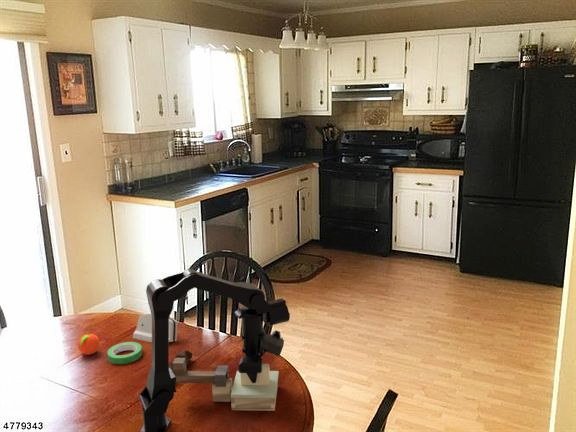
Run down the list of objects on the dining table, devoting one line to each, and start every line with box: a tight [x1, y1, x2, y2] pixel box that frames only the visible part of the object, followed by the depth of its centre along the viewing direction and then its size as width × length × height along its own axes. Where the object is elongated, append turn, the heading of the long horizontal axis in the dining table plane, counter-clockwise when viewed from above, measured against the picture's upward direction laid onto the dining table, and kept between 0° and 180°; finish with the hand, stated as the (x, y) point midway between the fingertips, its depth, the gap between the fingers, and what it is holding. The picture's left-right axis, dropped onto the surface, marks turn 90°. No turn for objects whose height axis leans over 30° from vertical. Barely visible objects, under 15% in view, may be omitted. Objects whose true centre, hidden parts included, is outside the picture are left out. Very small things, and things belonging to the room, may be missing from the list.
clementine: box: [77, 333, 101, 356], centre depth 172 cm, size 8×7×7 cm
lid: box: [231, 363, 280, 399], centre depth 144 cm, size 12×12×6 cm
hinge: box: [132, 312, 178, 344], centre depth 183 cm, size 17×5×10 cm, turn 64°
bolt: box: [169, 349, 193, 371], centre depth 161 cm, size 6×5×15 cm
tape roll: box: [107, 341, 143, 365], centre depth 171 cm, size 11×11×3 cm
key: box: [172, 357, 216, 384], centre depth 144 cm, size 3×12×6 cm, turn 87°
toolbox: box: [211, 365, 279, 411], centre depth 145 cm, size 12×18×9 cm, turn 87°
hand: (254, 379), depth 144 cm, fingers open, 4 cm apart
